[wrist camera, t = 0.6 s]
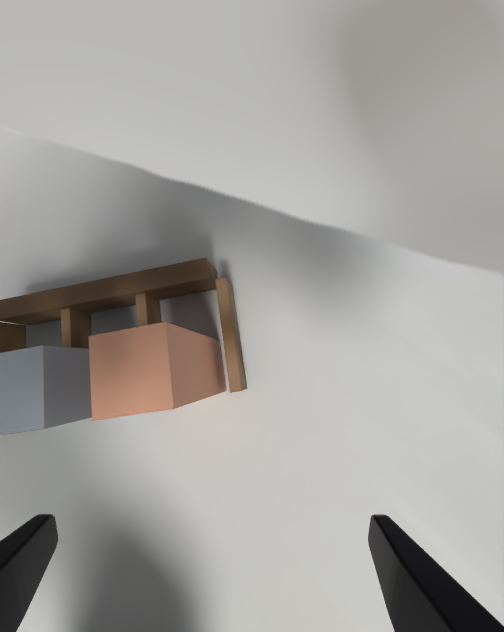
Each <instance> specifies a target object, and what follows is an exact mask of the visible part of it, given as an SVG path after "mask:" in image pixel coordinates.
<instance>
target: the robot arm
mask: <svg viewBox="0 0 504 632" xmlns="http://www.w3.org/2000/svg"><path fill="white" fill-rule="evenodd" d="M57 542H58V533H57V527H56V521H55V517H54V516H53V515H52V514H39V515H37V516H35V517H33V518H32V519H30V520H29V521H28V522H26V523H25V524H24V525H22V526H21V527H19V528H18V529H17V530H15V531H14V532H12V533H11V534H10V535H8V536H7V537H5V538H4V539H3V540H1V541H0V632H16V631H17V629H18V627H19V625H20V623H21V622H22V620H23V618H24V616H25V614H26V612H27V610H28V607H29V605H30V603H31V601H32V599H33V597H34V594H35V592H36V590H37V588H38V586H39V584H40V581H41V579H42V577H43V575H44V573H45V570H46V568H47V566H48V564H49V562H50V559H51V557H52V555H53V553H54V551H55V549H56V546H57ZM368 542H369V547H370V551H371V554H372V558H373V561H374V565H375V568H376V572H377V575H378V579H379V582H380V586H381V589H382V593H383V596H384V600H385V603H386V607H387V610H388V613H389V617H390V619H391V622H392V625H393V628H394V631H395V632H504V626H503V625H502V624H501V623H500V622H499V621H498V620H497V619H496V618H495V617H494V616H492V615H491V614H490V613H489V612H488V611H487V610H486V609H485V608H484V607H483V606H482V605H481V604H480V603H479V602H478V601H477V600H476V599H475V598H474V597H472V596H471V595H470V594H469V593H468V592H467V591H466V590H465V589H464V588H463V587H462V586H461V585H460V584H459V583H458V582H457V581H456V580H455V579H454V578H453V577H451V576H450V575H449V574H448V573H447V572H446V571H445V570H444V569H443V568H442V567H441V566H440V565H439V564H438V563H437V562H436V561H435V560H434V559H433V558H432V557H430V556H429V555H428V554H427V553H426V552H425V551H424V550H423V549H422V548H421V547H420V546H419V545H418V544H417V543H416V542H415V541H414V540H413V539H412V538H411V537H409V536H408V535H407V534H406V533H405V532H404V531H403V530H402V529H401V528H400V527H399V526H398V525H397V524H396V523H395V522H394V521H393V520H392V519H391V518H390V517H388V516H387V515H372V516H371V520H370V527H369V535H368Z"/></svg>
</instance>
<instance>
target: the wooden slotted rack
mask: <svg viewBox="0 0 504 632" xmlns="http://www.w3.org/2000/svg"><path fill="white" fill-rule="evenodd" d="M214 289H217V296H218V304H219V311H220V319H221V326H222V334H223V341H224V349H225V356H226V364H227V371H228V379H229V386H230V392H237V391H242V390H244V389H247V384H246V377H245V371H244V364H243V357H242V350H241V343H240V336H239V329H238V322H237V315H236V308H235V301H234V294H233V288H232V285H231V284H230V282H229V281H228V280H227V279H226V277H224V278H219V279H218V278H217V271H216V269H215V268H214V267H213V266H212V264H211V263H210V262H209V261H208V260H207V258H202V259H197V260H192V261H187V262H183V263H178V264H173V265H168V266H163V267H158V268H154V269H149V270H144V271H139V272H134V273H129V274H125V275H120V276H115V277H110V278H105V279H100V280H96V281H91V282H86V283H81V284H76V285H71V286H67V287H62V288H57V289H52V290H47V291H42V292H38V293H33V294H28V295H23V296H18V297H13V298H9V299H4V300H0V321H5V322H11V323H17V324H24V325H32V324H38V323H43V322H48V321H53V320H58V319H61V343H62V347H70V348H82V349H89V336H91V321H90V313H95V312H100V311H105V310H110V309H115V308H121V307H126V306H131V305H136V310H137V323H138V327H140V326H145V325H151V324H156V323H161V316H160V305H159V300H162V299H167V298H172V297H178V296H183V295H188V294H193V293H198V292H203V291H209V290H214ZM19 349H25V326H23V325H16V324H9V323H3V322H0V353H3V352H8V351H14V350H19Z"/></svg>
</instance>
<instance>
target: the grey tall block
mask: <svg viewBox="0 0 504 632" xmlns="http://www.w3.org/2000/svg"><path fill="white" fill-rule="evenodd" d="M90 417H92V407H91V383H90V360H89V349H82V348H70V347H59V346H47V345H41V346H36V347H30V348H25V349H19V350H14V351H8V352H3V353H0V435H4V434H11V433H18V432H25V431H32V430H39V429H45V428H49V427H53V426H57V425H61V424H65V423H70V422H74V421H78V420H82V419H86V418H90Z"/></svg>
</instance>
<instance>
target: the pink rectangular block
mask: <svg viewBox="0 0 504 632" xmlns="http://www.w3.org/2000/svg"><path fill="white" fill-rule="evenodd" d="M89 360H90V383H91V407H92V421H94V420H100V419H107V418H114V417H121V416H128V415H135V414H142V413H149V412H155V411H162V410H169V409H175V408H178V407H181V406H184V405H186V404H189V403H192V402H195V401H198V400H201V399H204V398H207V397H210V396H213V395H216V394H219V393H222V392H224V391H226V387H225V379H224V371H223V364H222V356H221V348H220V341H219V340H216V339H214V338H211V337H208V336H205V335H202V334H199V333H196V332H193V331H190V330H188V329H185V328H182V327H179V326H176V325H173V324H170V323H167V322H162V323H156V324H151V325H145V326H140V327H134V328H129V329H124V330H118V331H113V332H107V333H102V334H96V335H91V336H89Z"/></svg>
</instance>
